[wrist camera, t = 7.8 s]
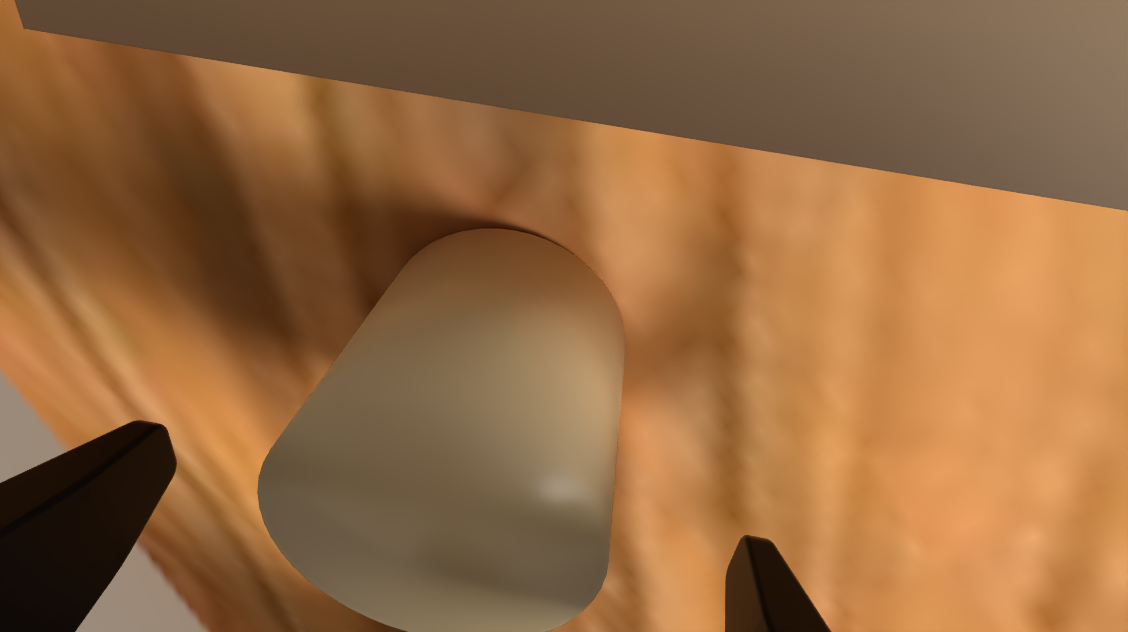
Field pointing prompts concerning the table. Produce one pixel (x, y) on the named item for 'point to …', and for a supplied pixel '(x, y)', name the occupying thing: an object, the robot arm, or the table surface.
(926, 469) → the table surface
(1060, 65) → the lid
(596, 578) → the dome-topped beige cylinder
